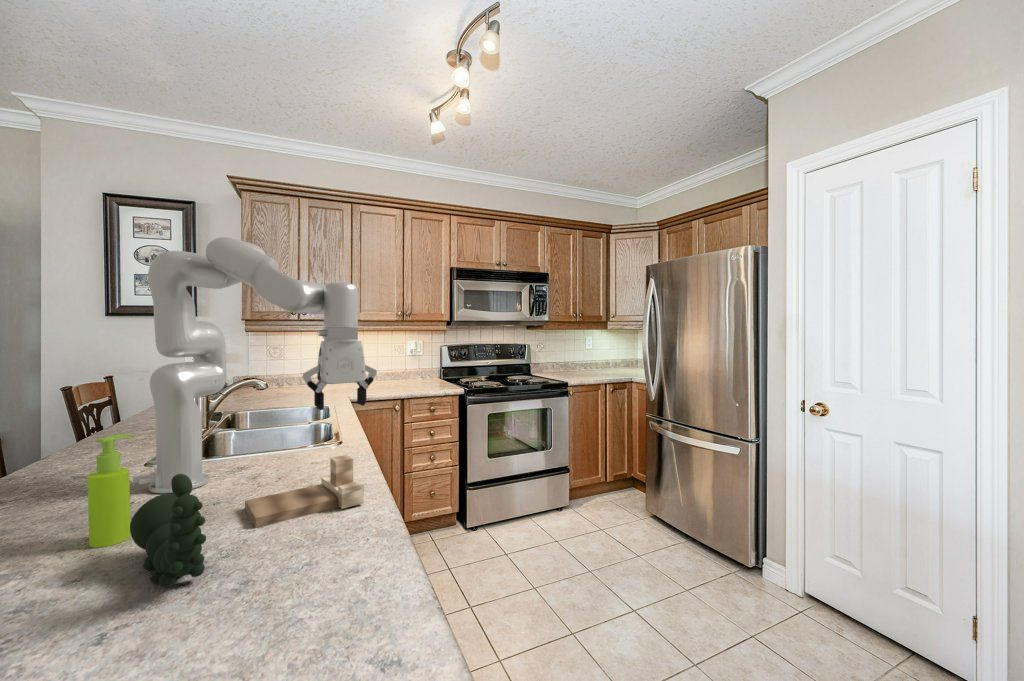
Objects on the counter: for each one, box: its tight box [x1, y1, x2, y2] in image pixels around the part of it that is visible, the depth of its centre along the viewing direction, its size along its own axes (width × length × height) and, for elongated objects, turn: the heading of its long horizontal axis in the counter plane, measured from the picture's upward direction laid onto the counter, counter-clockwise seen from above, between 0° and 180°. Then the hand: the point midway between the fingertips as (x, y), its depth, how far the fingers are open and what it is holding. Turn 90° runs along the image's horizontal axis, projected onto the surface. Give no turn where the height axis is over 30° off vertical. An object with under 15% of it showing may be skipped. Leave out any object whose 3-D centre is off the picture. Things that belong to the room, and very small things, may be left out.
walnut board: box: [244, 483, 340, 529], centre depth 102 cm, size 22×12×2 cm, turn 130°
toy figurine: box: [130, 474, 207, 588], centre depth 75 cm, size 9×19×25 cm
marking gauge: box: [320, 454, 365, 510], centre depth 106 cm, size 5×14×9 cm, turn 40°
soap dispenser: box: [87, 433, 136, 549], centre depth 85 cm, size 6×7×20 cm
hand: (341, 406), depth 106 cm, fingers open, 9 cm apart
